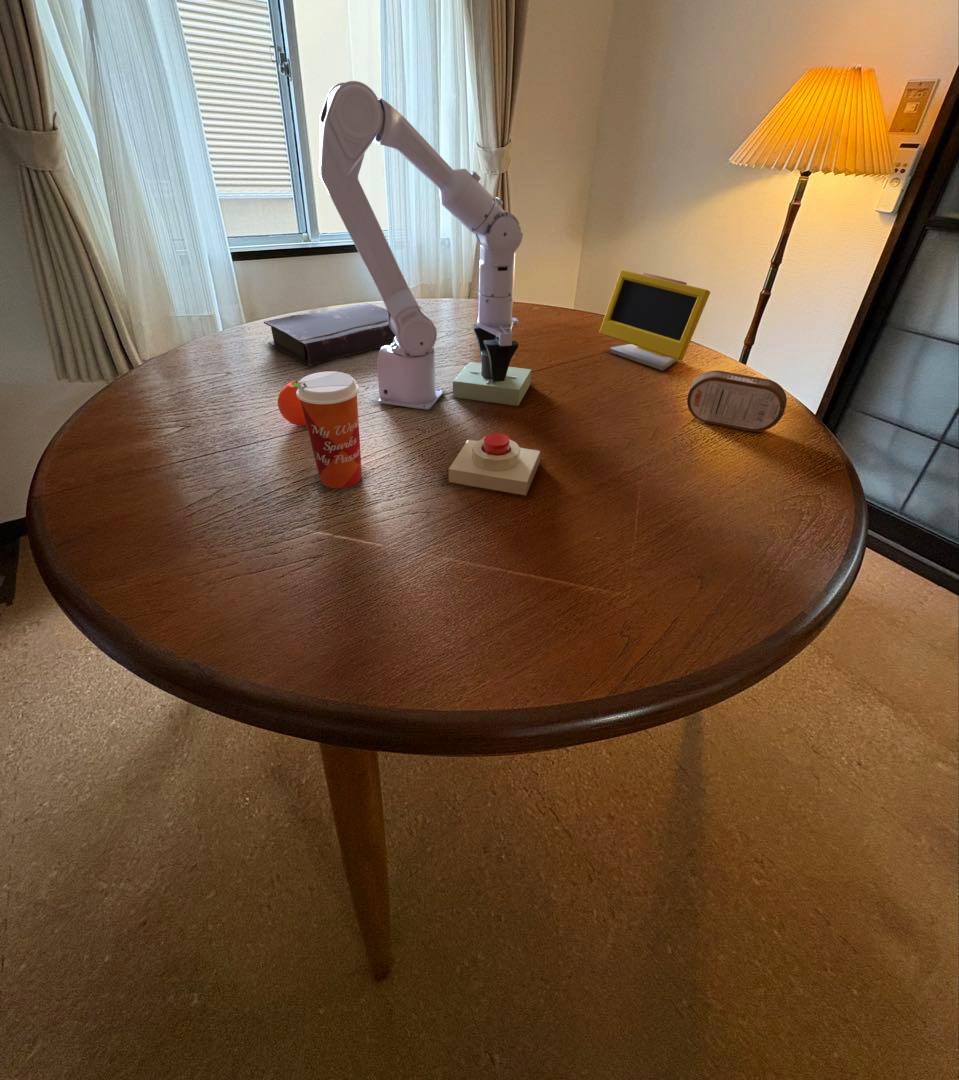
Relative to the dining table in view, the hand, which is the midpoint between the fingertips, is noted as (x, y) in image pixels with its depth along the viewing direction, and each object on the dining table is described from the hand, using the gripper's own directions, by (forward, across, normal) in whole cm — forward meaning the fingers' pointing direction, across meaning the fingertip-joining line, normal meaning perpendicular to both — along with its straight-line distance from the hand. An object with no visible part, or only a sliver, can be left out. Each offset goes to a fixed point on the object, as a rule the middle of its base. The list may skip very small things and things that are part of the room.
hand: (493, 373), depth 101 cm
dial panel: (+3, 0, 0) cm, 3 cm away
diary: (+3, +31, +26) cm, 41 cm away
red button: (0, -28, +7) cm, 29 cm away
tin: (+4, -21, -35) cm, 41 cm away
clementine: (+4, -8, +33) cm, 34 cm away
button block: (+3, -28, +7) cm, 29 cm away
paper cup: (+4, -25, +28) cm, 38 cm away
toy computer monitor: (+4, +10, -36) cm, 38 cm away
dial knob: (0, 0, 0) cm, 0 cm away
